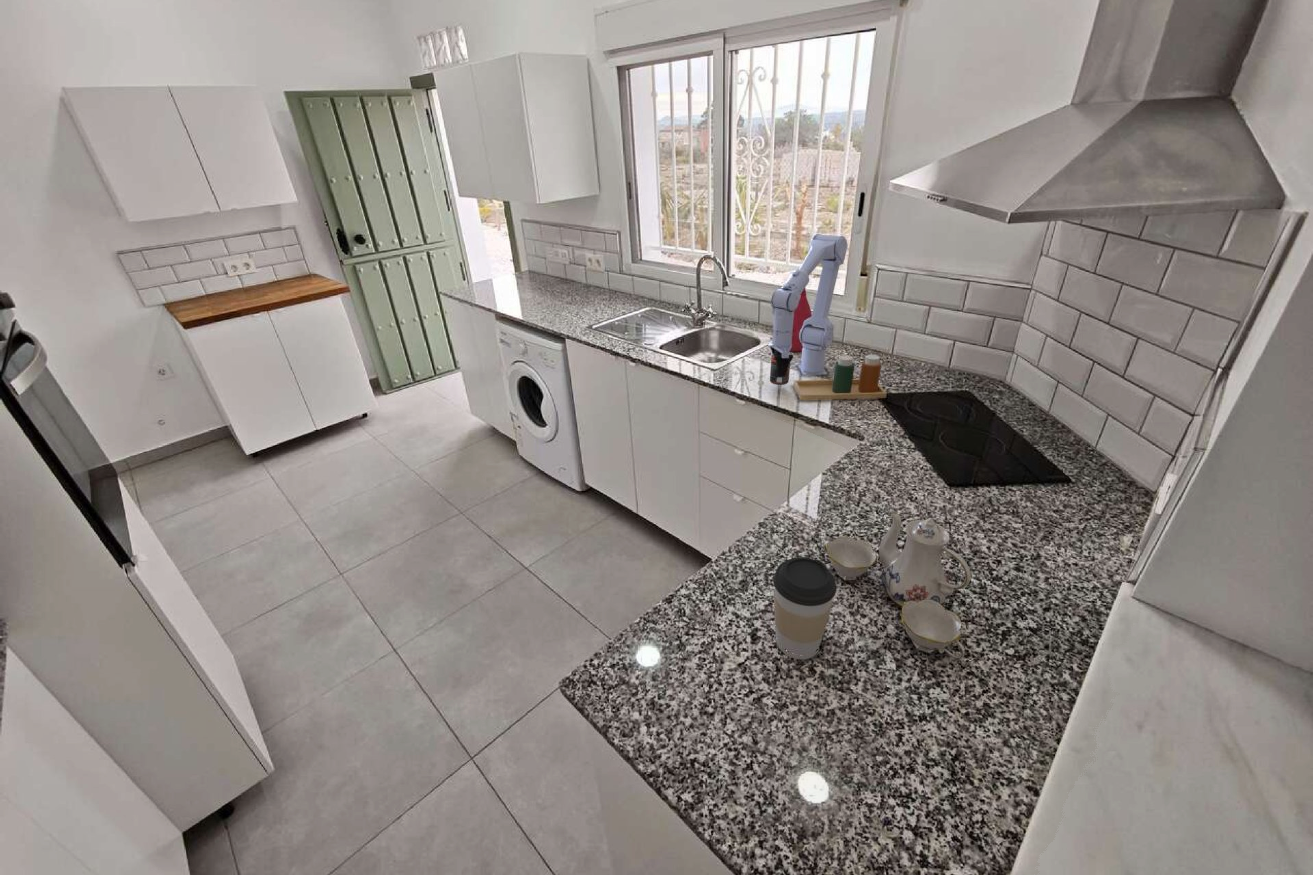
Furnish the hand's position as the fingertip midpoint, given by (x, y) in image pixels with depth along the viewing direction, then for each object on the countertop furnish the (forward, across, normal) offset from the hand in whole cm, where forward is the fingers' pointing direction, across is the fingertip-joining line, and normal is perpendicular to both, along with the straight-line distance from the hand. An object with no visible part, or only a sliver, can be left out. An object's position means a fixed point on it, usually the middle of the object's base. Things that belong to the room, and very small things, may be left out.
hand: (779, 371), depth 169 cm
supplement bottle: (+4, 0, 0) cm, 4 cm away
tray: (+6, +3, +18) cm, 19 cm away
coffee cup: (+6, +99, -13) cm, 100 cm away
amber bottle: (+6, +3, +27) cm, 28 cm away
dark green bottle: (+6, +3, +19) cm, 20 cm away
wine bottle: (+6, -39, +13) cm, 41 cm away
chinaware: (+6, +90, +6) cm, 90 cm away
